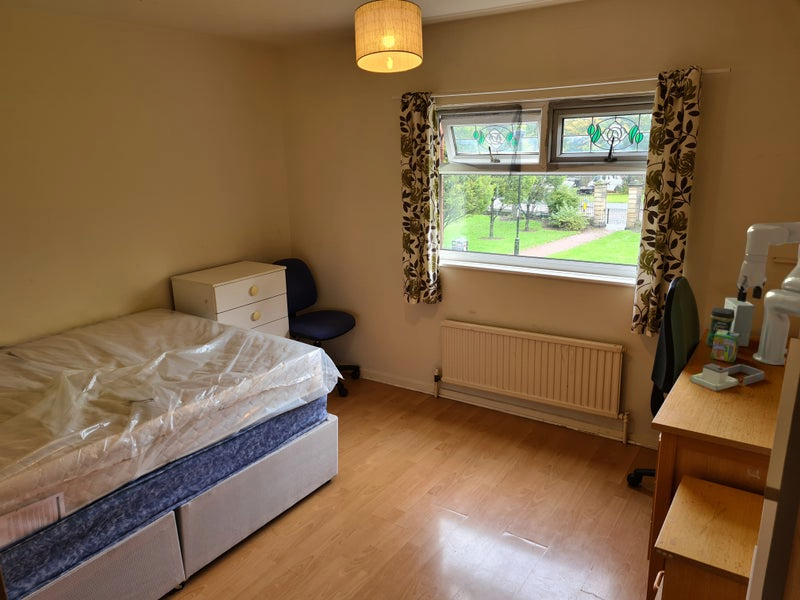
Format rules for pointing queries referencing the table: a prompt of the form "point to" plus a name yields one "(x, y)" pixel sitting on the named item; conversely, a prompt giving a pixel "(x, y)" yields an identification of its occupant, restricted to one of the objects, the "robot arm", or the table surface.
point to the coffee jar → (719, 322)
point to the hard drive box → (741, 318)
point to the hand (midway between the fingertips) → (748, 299)
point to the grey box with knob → (714, 374)
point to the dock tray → (698, 380)
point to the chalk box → (725, 345)
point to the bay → (754, 373)
